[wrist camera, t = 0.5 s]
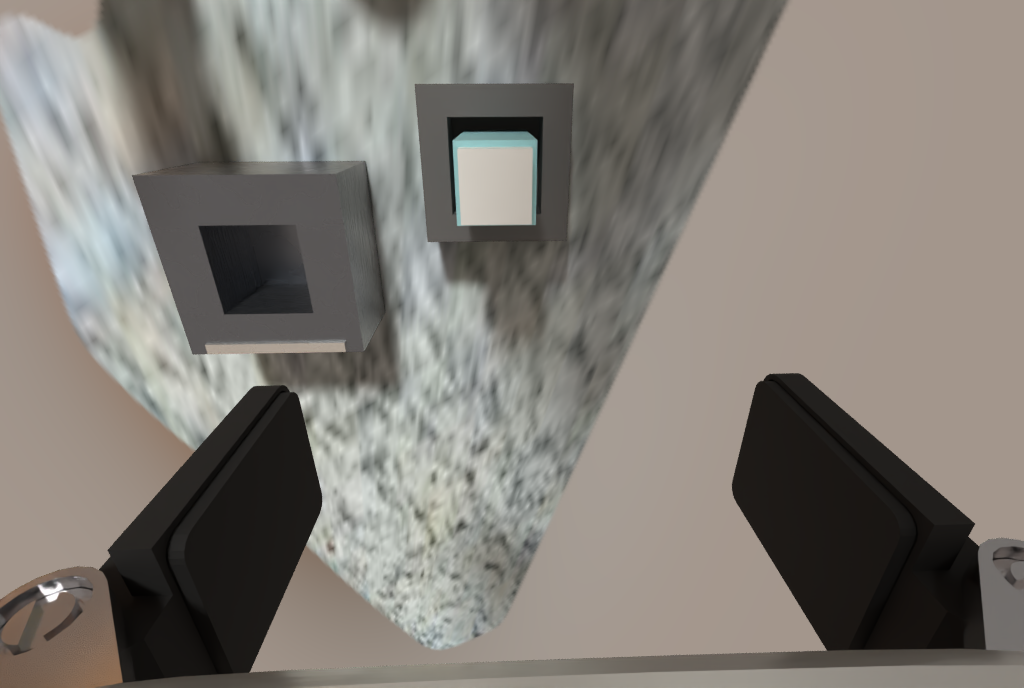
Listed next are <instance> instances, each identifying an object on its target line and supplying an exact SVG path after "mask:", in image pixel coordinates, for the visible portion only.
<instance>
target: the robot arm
mask: <svg viewBox="0 0 1024 688" xmlns="http://www.w3.org/2000/svg"><path fill="white" fill-rule="evenodd" d="M732 491H733V496H734V499H735V500H736V503H737V504H738V506H739V507H740V509H741V511H742V512H743V514H744V516H745V517H746V519H747V520H748V522H749V524H750V525H751V527H752V528H753V530H754V532H755V533H756V535H757V537H758V538H759V540H760V541H761V543H762V545H763V547H764V548H765V550H766V552H767V553H768V555H769V556H770V558H771V559H772V561H773V563H774V564H775V566H776V568H777V569H778V571H779V573H780V574H781V576H782V578H783V579H784V581H785V582H786V584H787V586H788V587H789V589H790V591H791V592H792V594H793V596H794V597H795V599H796V601H797V602H798V604H799V605H800V607H801V609H802V610H803V612H804V613H805V615H806V617H807V618H808V620H809V622H810V623H811V625H812V626H813V628H814V630H815V632H816V633H817V635H818V636H819V638H820V640H821V641H822V643H823V645H824V646H825V648H826V649H827V651H804V652H770V653H737V654H705V655H704V654H703V655H675V656H674V655H671V656H642V657H616V658H615V657H614V658H586V659H585V658H584V659H561V660H560V659H558V660H531V661H530V660H529V661H502V662H475V663H451V664H426V665H403V666H378V667H353V668H330V669H305V670H287V671H286V670H285V671H268V672H253V673H249V672H250V670H251V668H252V666H253V663H254V661H255V659H256V657H257V655H258V652H259V650H260V648H261V645H262V643H263V641H264V638H265V636H266V634H267V631H268V630H269V627H270V625H271V623H272V620H273V618H274V616H275V614H276V611H277V609H278V607H279V604H280V602H281V600H282V598H283V595H284V593H285V591H286V589H287V586H288V584H289V582H290V580H291V577H292V575H293V572H294V571H295V568H296V566H297V564H298V562H299V559H300V557H301V554H302V552H303V550H304V548H305V546H306V543H307V541H308V539H309V537H310V534H311V532H312V530H313V527H314V525H315V523H316V521H317V518H318V516H319V514H320V511H321V507H322V493H321V488H320V484H319V480H318V476H317V472H316V468H315V463H314V459H313V455H312V451H311V447H310V443H309V438H308V434H307V430H306V426H305V422H304V418H303V413H302V409H301V405H300V401H299V398H298V395H297V394H296V393H294V392H290V391H289V389H288V388H287V387H286V386H284V385H281V386H254V387H253V388H251V389H250V390H249V391H248V392H247V394H246V395H245V396H244V397H243V398H242V399H241V400H240V401H239V403H238V404H237V405H236V406H235V407H234V408H233V409H232V410H231V412H230V413H229V414H228V415H227V416H226V417H225V418H224V419H223V421H222V422H221V423H220V424H219V425H218V426H217V427H216V428H215V430H214V431H213V432H212V433H211V434H210V435H209V436H208V437H207V439H206V440H205V441H204V442H203V443H202V444H201V445H200V446H199V448H198V449H197V450H196V451H195V452H194V453H193V454H192V456H191V457H190V458H189V459H188V460H187V461H186V462H185V464H184V465H183V466H182V467H181V468H180V469H179V470H178V471H177V472H176V474H175V475H174V476H173V477H172V478H171V479H170V480H169V481H168V483H167V484H166V485H165V486H164V487H163V488H162V489H161V490H160V492H159V493H158V494H157V495H156V496H155V497H154V498H153V500H152V501H151V502H150V503H149V504H148V505H147V506H146V507H145V508H144V510H143V511H142V512H141V513H140V514H139V515H138V516H137V517H136V519H135V520H134V521H133V522H132V523H131V524H130V525H129V527H128V528H127V529H126V530H125V531H124V532H123V533H122V534H121V536H120V537H119V538H118V539H117V540H116V541H115V542H114V543H113V545H112V546H111V547H110V548H109V549H108V552H109V554H110V558H109V559H108V560H107V561H106V562H105V563H104V565H103V566H102V567H101V568H100V569H99V570H97V569H95V568H93V567H73V568H67V569H62V570H57V571H55V572H52V573H49V574H46V575H44V576H41V577H38V578H36V579H34V580H32V581H30V582H28V583H26V584H24V585H22V586H21V587H19V588H17V589H15V590H14V591H12V592H11V593H9V594H8V595H6V596H5V597H3V598H2V599H0V688H1024V541H1021V540H1014V539H1007V538H996V539H988V540H987V541H985V542H984V543H982V544H980V546H978V545H977V544H976V543H975V542H974V541H972V540H971V539H970V538H969V537H968V536H969V534H970V532H971V530H972V528H973V527H974V525H975V523H974V522H972V521H971V520H970V519H969V518H968V517H967V516H965V515H964V514H963V513H962V512H961V511H960V510H959V509H957V508H956V507H955V506H954V505H953V504H952V503H950V502H949V501H948V500H947V499H946V498H944V496H942V495H941V494H940V493H939V492H938V491H937V490H935V489H934V488H933V487H932V486H931V485H930V484H928V483H927V482H926V481H925V480H923V478H921V477H920V476H919V475H918V474H917V473H916V472H915V471H913V470H912V469H911V468H909V466H908V465H906V464H905V463H904V462H903V461H902V460H901V459H899V458H898V457H897V456H896V455H895V454H894V453H892V452H891V451H890V450H889V449H888V448H887V447H886V446H884V445H883V444H882V443H881V442H880V441H878V440H877V439H876V438H875V437H874V436H873V435H871V434H870V433H869V432H868V431H867V430H866V429H865V428H864V427H862V426H861V425H860V424H859V423H858V422H857V421H855V420H854V419H853V418H852V417H851V416H850V415H848V414H847V413H846V412H845V411H844V410H843V409H841V408H840V407H839V406H838V405H837V404H836V403H835V402H833V401H832V400H831V399H830V398H829V397H827V396H826V395H825V394H824V393H823V392H822V391H821V390H819V389H818V388H817V387H816V386H815V385H814V384H813V383H811V382H810V381H809V380H808V379H807V378H805V377H804V376H803V375H801V374H798V373H795V374H794V373H790V374H769V375H767V376H766V378H765V379H764V381H760V382H759V383H758V384H757V385H756V388H755V392H754V395H753V400H752V404H751V408H750V412H749V416H748V420H747V424H746V428H745V432H744V437H743V441H742V445H741V449H740V453H739V457H738V461H737V465H736V469H735V473H734V477H733V482H732Z"/></svg>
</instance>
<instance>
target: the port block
mask: <svg viewBox="0 0 1024 688" xmlns="http://www.w3.org/2000/svg"><path fill="white" fill-rule="evenodd" d="M132 177H133V180H134V183H135V186H136V189H137V192H138V195H139V197H140V200H141V203H142V206H143V209H144V212H145V215H146V218H147V221H148V224H149V227H150V230H151V233H152V236H153V239H154V242H155V245H156V248H157V250H158V253H159V256H160V259H161V262H162V265H163V268H164V271H165V274H166V277H167V280H168V283H169V286H170V289H171V292H172V295H173V298H174V301H175V304H176V306H177V309H178V312H179V315H180V318H181V321H182V324H183V327H184V330H185V333H186V336H187V339H188V342H189V345H190V348H191V351H192V354H248V353H310V352H364V351H365V349H366V347H367V345H368V343H369V342H370V340H371V338H372V336H373V334H374V332H375V330H376V328H377V327H378V325H379V323H380V321H381V319H382V317H383V315H384V314H385V307H384V300H383V292H382V284H381V277H380V269H379V262H378V254H377V247H376V239H375V231H374V224H373V216H372V209H371V201H370V193H369V186H368V178H367V171H366V163H365V161H315V162H198V163H193V164H188V165H183V166H178V167H173V168H168V169H162V170H157V171H152V172H147V173H142V174H137V175H132Z"/></svg>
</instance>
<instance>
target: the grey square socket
mask: <svg viewBox="0 0 1024 688" xmlns="http://www.w3.org/2000/svg"><path fill="white" fill-rule="evenodd" d="M573 89H574V84H415V93H416V105H417V117H418V129H419V141H420V153H421V165H422V177H423V189H424V201H425V213H426V225H427V237H428V242H470V241H560V240H566V238H567V217H568V195H569V174H570V153H571V132H572V110H573ZM465 130H527V131H528V132H529V133H530V134H531V135H532V136H533V137H534V138H536V139H537V186H536V225H497V226H457V214H456V196H455V178H454V159H453V140H454V139H455V138H456V137H457V136H459V135H460V134H461V133H462V132H464V131H465Z"/></svg>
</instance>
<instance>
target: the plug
mask: <svg viewBox="0 0 1024 688" xmlns="http://www.w3.org/2000/svg"><path fill="white" fill-rule="evenodd" d="M453 159H454V178H455V196H456V214H457V226H497V225H536V186H537V139H536V138H534V137H533V136H532V135H531V134H530V133H529V132H528V131H527V130H465V131H464V132H462V133H461V134H460V135H459V136H457V137H456V138H455V139H454V140H453Z"/></svg>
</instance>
